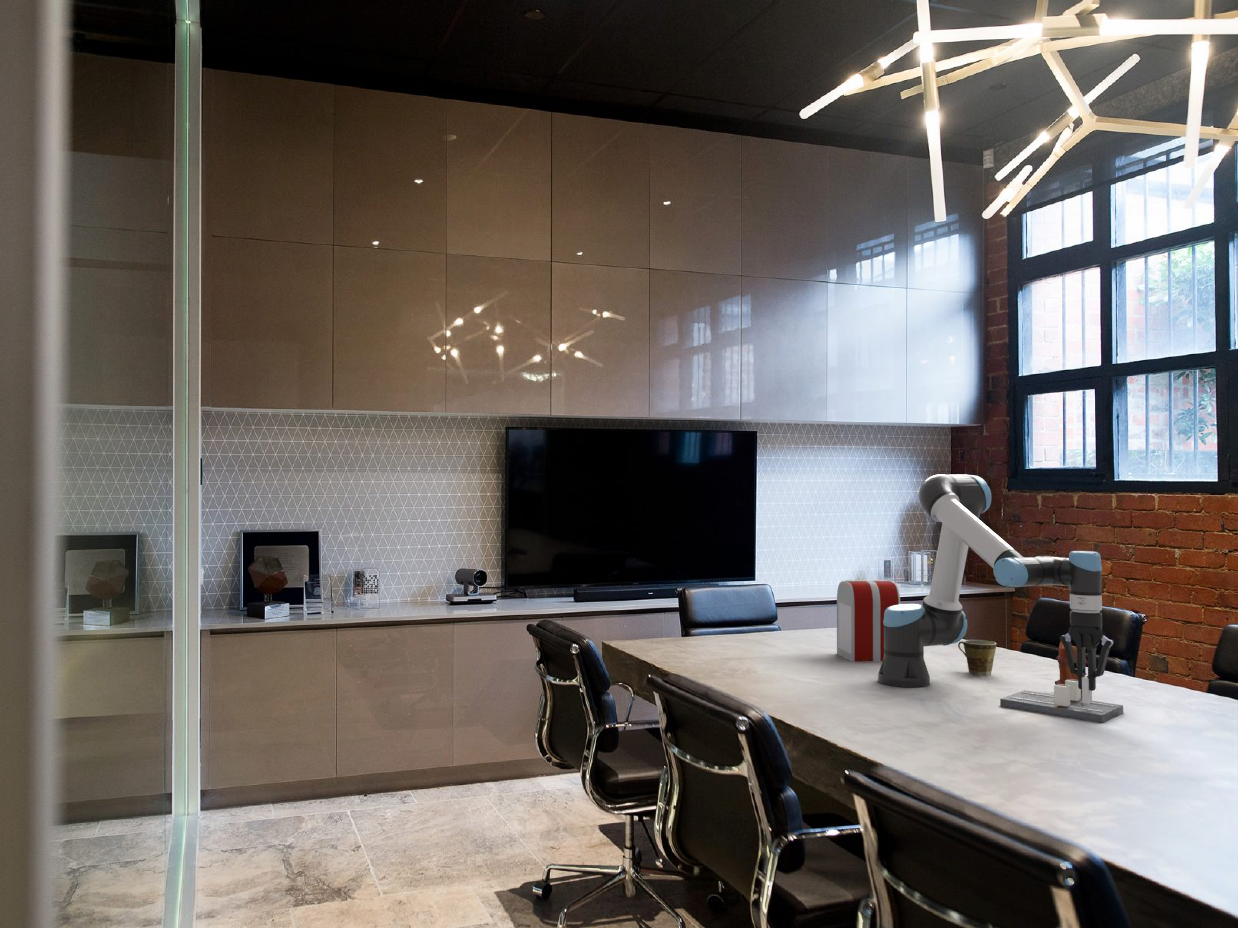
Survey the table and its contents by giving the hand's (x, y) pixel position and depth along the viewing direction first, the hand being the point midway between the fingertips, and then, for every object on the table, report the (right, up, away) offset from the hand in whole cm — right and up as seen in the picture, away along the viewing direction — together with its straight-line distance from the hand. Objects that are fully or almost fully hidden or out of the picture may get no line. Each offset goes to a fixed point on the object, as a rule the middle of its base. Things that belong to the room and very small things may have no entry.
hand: (1087, 702), depth 245 cm
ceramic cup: (-6, -6, +61) cm, 61 cm away
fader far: (+2, -2, +11) cm, 12 cm away
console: (-3, -4, +9) cm, 10 cm away
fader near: (-4, -2, +5) cm, 6 cm away
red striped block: (-33, -7, +88) cm, 95 cm away
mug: (+8, -5, +27) cm, 28 cm away
